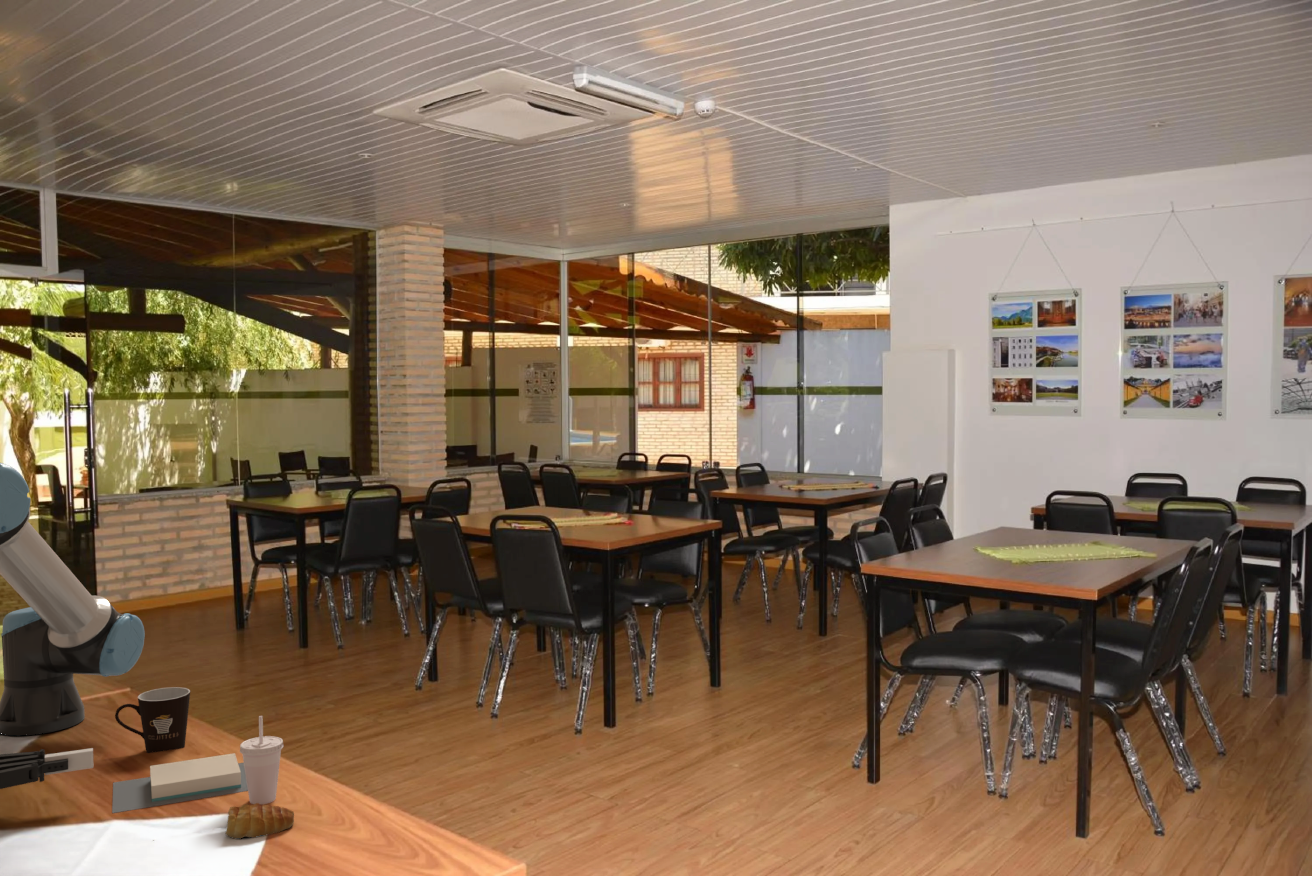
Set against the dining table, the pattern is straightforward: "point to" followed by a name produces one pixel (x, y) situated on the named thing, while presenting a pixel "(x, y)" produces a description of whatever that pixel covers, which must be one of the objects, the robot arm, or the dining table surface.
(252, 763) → the smoothie
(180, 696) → the coffee mug
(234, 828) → the pastry
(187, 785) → the tile
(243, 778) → the mat
